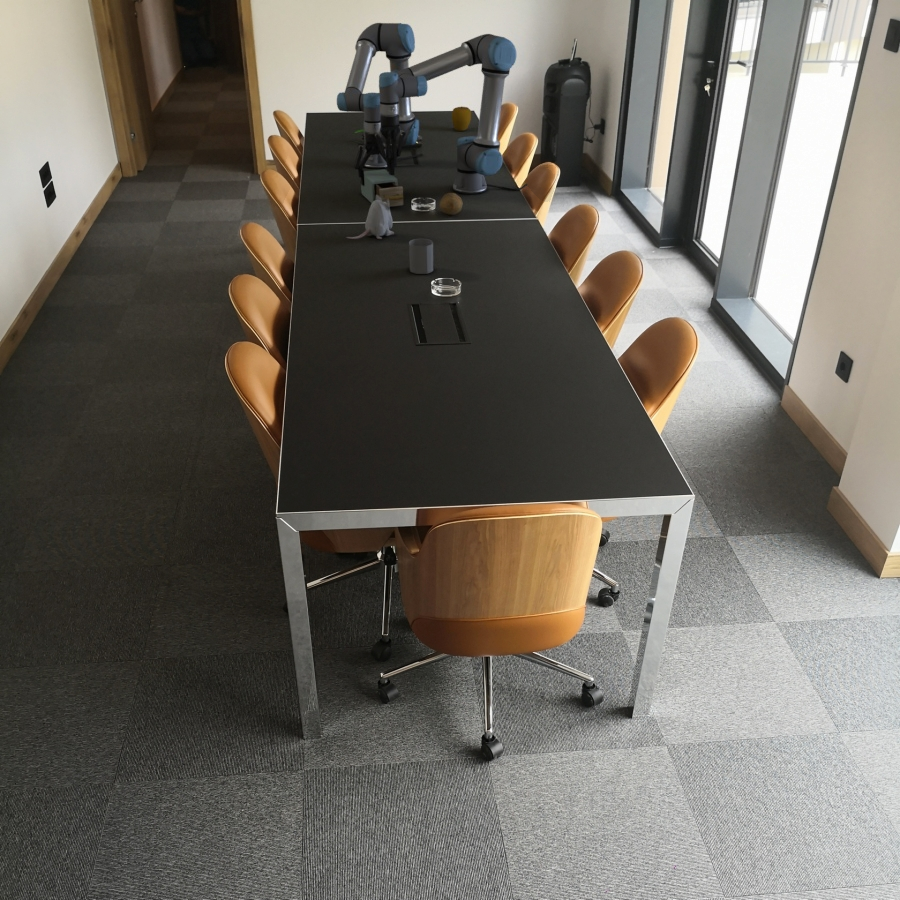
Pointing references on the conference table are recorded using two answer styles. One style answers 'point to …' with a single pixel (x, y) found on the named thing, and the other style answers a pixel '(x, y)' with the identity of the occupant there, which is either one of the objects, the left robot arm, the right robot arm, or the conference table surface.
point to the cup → (421, 256)
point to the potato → (451, 204)
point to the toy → (378, 220)
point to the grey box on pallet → (375, 182)
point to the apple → (461, 118)
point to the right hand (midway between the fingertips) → (391, 174)
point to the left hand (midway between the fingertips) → (376, 183)
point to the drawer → (389, 193)
